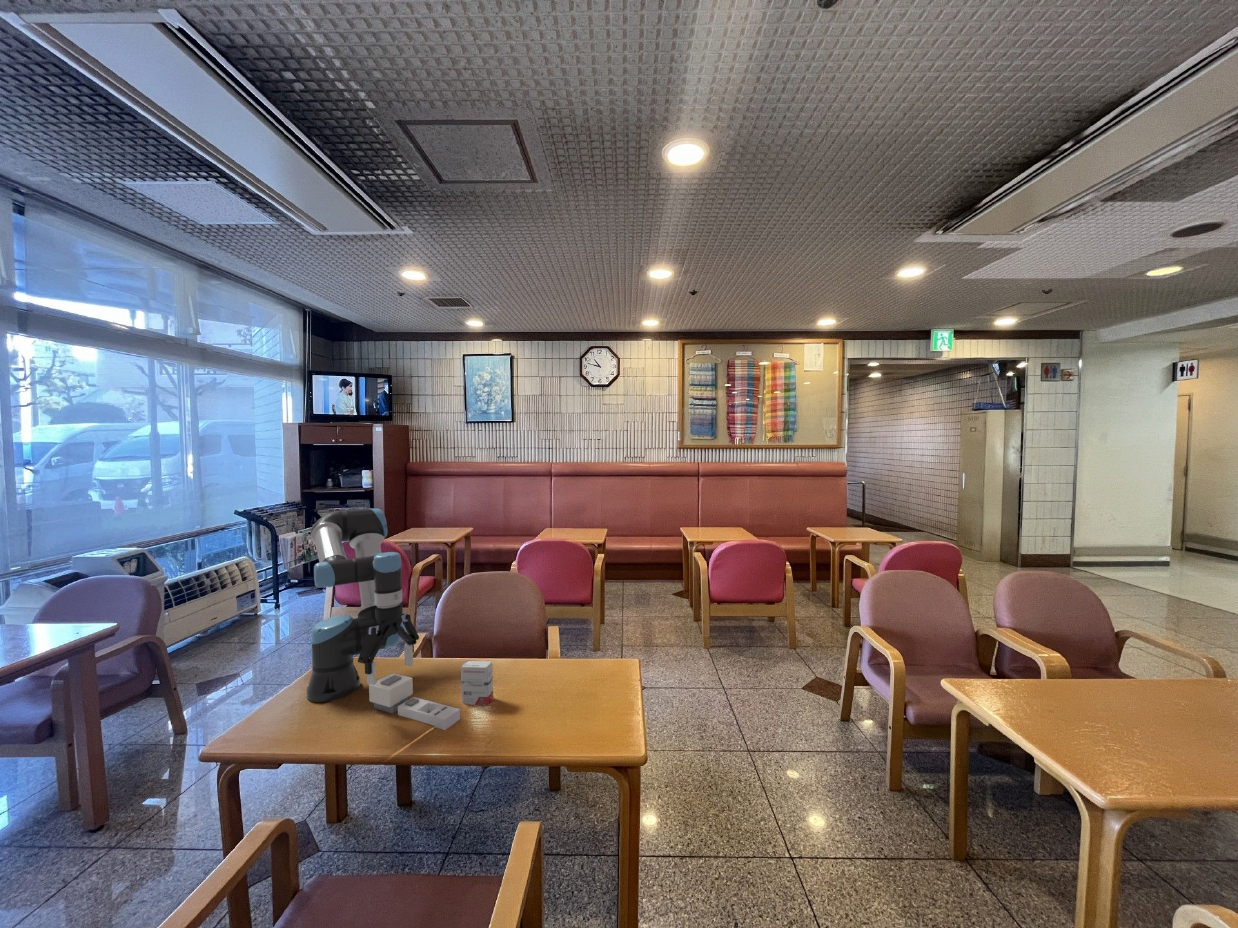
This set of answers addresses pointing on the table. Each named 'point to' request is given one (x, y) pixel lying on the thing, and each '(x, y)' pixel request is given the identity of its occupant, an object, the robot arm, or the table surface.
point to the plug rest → (392, 708)
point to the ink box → (477, 683)
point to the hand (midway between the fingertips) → (391, 674)
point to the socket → (437, 716)
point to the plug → (391, 690)
